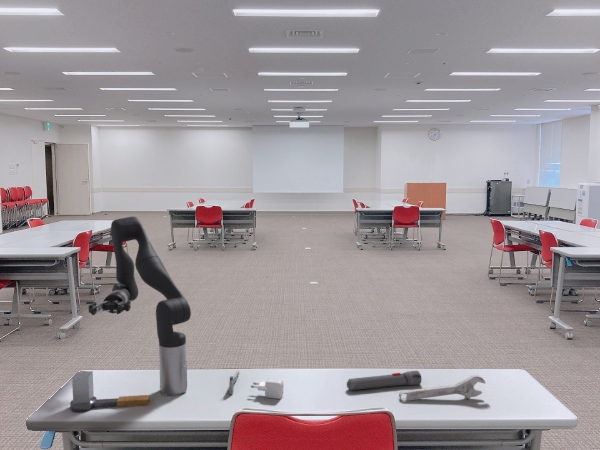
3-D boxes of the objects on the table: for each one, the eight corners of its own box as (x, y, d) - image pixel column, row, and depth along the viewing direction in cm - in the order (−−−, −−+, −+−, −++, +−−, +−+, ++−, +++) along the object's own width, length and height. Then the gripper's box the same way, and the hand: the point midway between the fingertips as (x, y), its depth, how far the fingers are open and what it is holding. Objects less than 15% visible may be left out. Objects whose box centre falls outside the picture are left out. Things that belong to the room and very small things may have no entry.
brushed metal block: (93, 397, 162) (92, 371, 162) (89, 403, 157) (88, 377, 157) (78, 398, 162) (77, 372, 161) (73, 404, 157) (72, 378, 156)
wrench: (399, 406, 167) (484, 395, 168) (401, 409, 165) (487, 398, 166) (397, 384, 166) (482, 373, 167) (398, 386, 164) (485, 375, 165)
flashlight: (345, 388, 175) (345, 375, 175) (415, 381, 182) (415, 368, 181) (350, 394, 170) (350, 380, 170) (421, 386, 177) (422, 373, 177)
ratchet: (151, 397, 167) (150, 382, 166) (147, 408, 159) (146, 392, 158) (74, 402, 163) (74, 386, 163) (67, 413, 155) (66, 396, 155)
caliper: (232, 396, 169) (232, 378, 168) (229, 395, 169) (229, 378, 168) (239, 373, 189) (239, 357, 189) (237, 373, 189) (236, 357, 189)
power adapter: (249, 397, 167) (249, 380, 167) (254, 391, 172) (254, 375, 172) (280, 400, 165) (280, 384, 164) (284, 394, 169) (284, 378, 169)
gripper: (96, 292, 187) (84, 302, 171) (134, 291, 189) (125, 301, 173) (97, 311, 188) (84, 322, 172) (135, 309, 190) (126, 321, 174)
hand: (105, 311), depth 173 cm, fingers open, 8 cm apart
